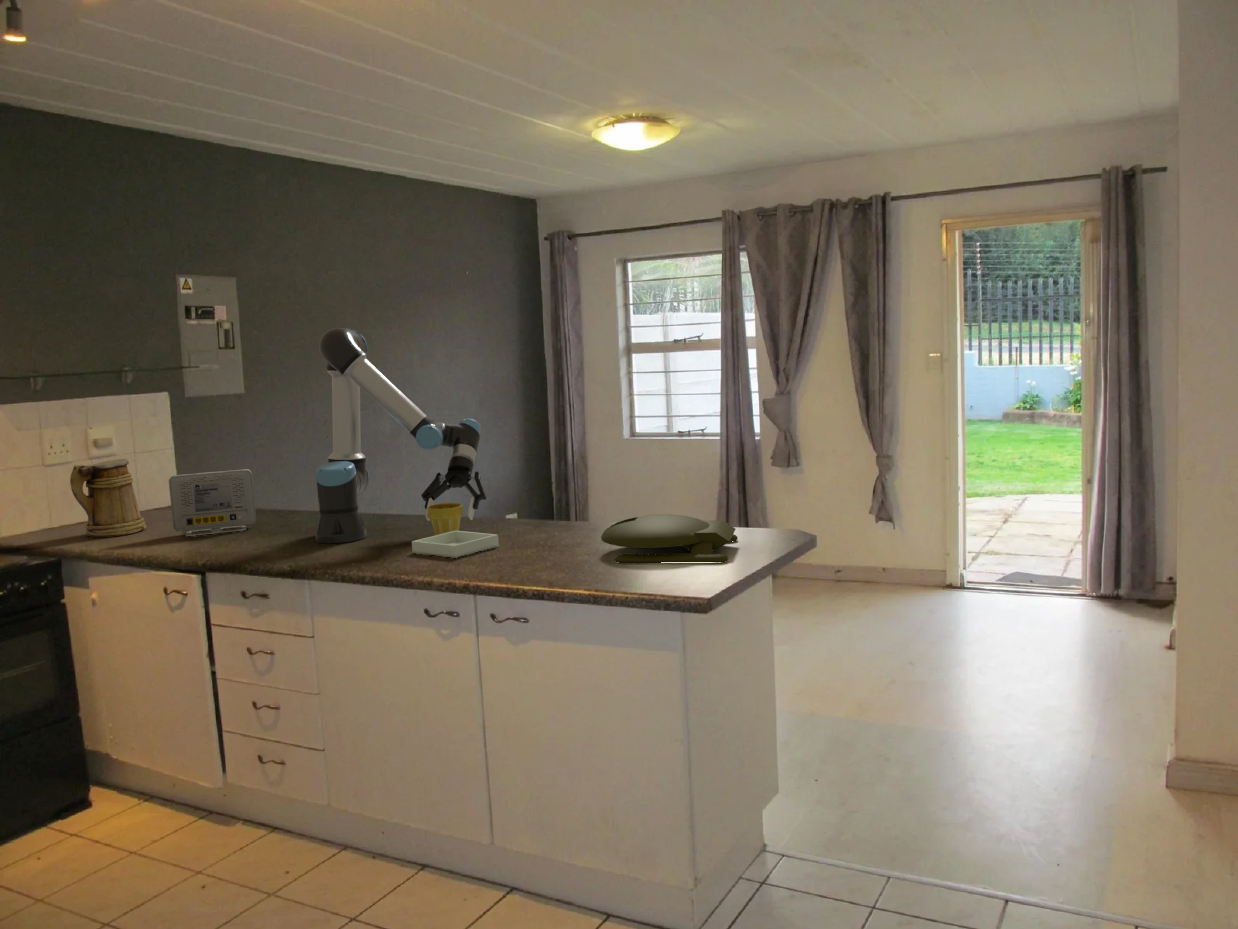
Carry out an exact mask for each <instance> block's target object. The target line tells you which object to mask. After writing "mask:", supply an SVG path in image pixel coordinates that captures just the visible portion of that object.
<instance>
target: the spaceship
mask: <svg viewBox="0 0 1238 929" xmlns="http://www.w3.org/2000/svg"><path fill="white" fill-rule="evenodd" d="M736 529H737V528H735V527H733V526H732V525H731V524H730V523H727V522H726V521H724V520H722V519H721V520H718V519H717V520H702V519H700V518H697V517H693V516H688V515H682V514H674V513H673V514H672V513H671V514H670V513H664V514H663V513H661V514H660V513H659V514H658V513H657V514H647V515H639V516H635V517H630V518H626V519H623V520H621V521H617V522H616V523H614V524H612V525H610V526H609V527H607V528H606V529H604V531H603V532H602V533H601V536H600V539H601V541H602V542H603V543H605V544H608V545H611V546H617V547H624V548H625V547H626V548H641V549H643V548H644V549H645V548H647V549H650V548H654V549H655V548H669V547H670V548H671V547H682V548H685V549H686V550H688V551H689V553H687V552H685V553H682V552H681V553H678V552H676V553H674V552H673V553H669V552H667V553H660V552H659V553H658V552H657V553H621V554H620V553H619V554H618V555H616V556H614V562H615V561H616V562H619V563H661V562H725V561H727V562H728V560H729V556H728V555H727V554H725V553H720V552H716V551H719V550H720V549H722V547H724V546H725V545H727V544H728V542H731V543H733V542H732V541H735V542H737V541H738V539H739V538H738V536H737V535H736V534H735V531H736ZM616 562H615V563H616ZM619 563H618V564H619ZM725 563H726V562H725Z"/></svg>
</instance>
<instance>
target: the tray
mask: <svg viewBox="0 0 1238 929" xmlns="http://www.w3.org/2000/svg"><path fill="white" fill-rule="evenodd" d="M499 547H500V546H499V534H495V533H486V532H484V533H483V532H474V531H466V530H465V531H464V530H459V531H452V532H447V533H443V534H439V535H432V536H428V537H424V538H420V539H416V540H411V548H412V549H411V550H412V554H413V553H416V554H415V555H420V554H422V555H421V556H429V555H437V556H444V557H443V558H445V557H451V558H450V559H453V558H456V559H459V558H458V557H460V556H464V555H467V556H470V555H469V554H471V555H473V554H472V553H474V554H476V553H475V552H478V551H482V552H485V551H488V550H487V549H489V550H492V549H496V548H499ZM491 548H492V549H491ZM484 550H485V551H484ZM478 553H479V552H478ZM437 556H436V557H437ZM464 557H465V556H464ZM460 558H461V557H460Z"/></svg>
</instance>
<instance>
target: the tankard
mask: <svg viewBox="0 0 1238 929" xmlns="http://www.w3.org/2000/svg"><path fill="white" fill-rule="evenodd" d="M128 465H129V460H128V459H127V458H120V459H111V460H106V461H103V462H97V463H93V464H90V465H89V464H88V465H84V464H81V465H76V464H75V465H74V466H73V468H72V471H71V474H70V482H69V484H70V490H71V492H72V494H73V497H74V498H75V500H76V502H77V503H78V504H79V505H80V506H81V508H82V509H83V510H84V512H85V514H86V515H87V524H86V525H85V530H86V531H85V535H86V536H88V537H89V536H91V537H90V538H95V537H105V538H114V537H119V536H120V537H121V535H122V536H126V534H127V535H130V534H134V533H138V532H140V531H143V530H145V529H146V528H147V525H146V522H145V520H144V517H143V516H142V515H141V512H140V508H139V505H138V501H137V500H138V499H137V498H136V494H135V489H134V486H133V482H134V479H133V476H132V473H131V472H129V469H128ZM84 483H85V487H86V488H87V495H86V494H85V492H84V489H83V488H84Z"/></svg>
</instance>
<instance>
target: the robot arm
mask: <svg viewBox="0 0 1238 929" xmlns="http://www.w3.org/2000/svg"><path fill="white" fill-rule="evenodd" d="M318 350H319V353H320V355H321V357H322V358H323V360H324V361H325V362H326V372H327V373H328V374H329V375H330V376H331V399H332V400H331V404H332V405H331V408H332V410H331V411H332V452H331V453H330V454H329V455H328V456H327V458H328V460H327V462H326V463H323V464H320V465H319V466H317V468H316V471H315V472H316V475H315V481H316V489H317V498H318V499H317V500H318V508H319V509H318V510H319V518H318V523H317V528H316V532H315V542H316V543H321V544H340V543H347V542H348V543H349V542H355V541H359V540H363V539H365V538H366V537H367V536H368V535H367V529H366V527H365V524H364V520H363V519H362V517H361V514H360V511H359V500H358V497H359V496H360V495H362V494H363V493H364V492H365V491H366V489H367V487H368V486H369V481H370V475H369V471H368V469H367V462H366V461H367V458H366V455H365V454H364V453H362V447H361V446H362V444H361V436H362V435H361V389H362V391H364V392H365V393H366V394H367V395H368V397H370V398H371V399H372V401H373V400H374V402H376V404H377V405H379V406H380V407H381V408H382V409H383V410H384V411H385V412H386V413H387V414H388V415H390V416H391V417H392V419H394V420H395V421H396V422H397V423H398V425H400V426H401V427H402V428H403V429H405V431H407V432H408V433H409V435H411V436H412V438H414V439H415V440H416V443H417V445H418V446H419V447H420V448H422V449H423V450H428V451H430V450H435V449H437V448H439V447H447V448H452V451H451V454H450V457H449V458H450V459H449V462H448V468H447V472H446V473H445V474H441V472H437V473H436V475H435V478H434V479H433V480H432V482H431V483H430V484H429V485H428V486H427V488H425V490H424V491H423V492H422V493H421V498H422V500H423V501H424V502H425V504H424V509H425V513H424V514H425V515H424V517H425V518H426V521H428V522H429V521H431V519H430V518H429V517H428V507H429V506H431V505H435V500H437V498H439V497H440V496H441V495H443V494H444V493H445V492H446V491H448V490H450V489H451V488H452V489H456V488H459V489H462V488H463V487H464V488H466V490H467V491H468V492H469V493H470V494H471V497H470V498H471V499H470V503H469V507H468V511H467V516H468V519H469V520H470V521H473V519H474V515H475V510H478V509H479V506H480V502H481V501H482V500H483V501H485V500H487V496H486V493H485V490H484V488H483V485H482V483H481V474H480V473H479V471H475V472H474V473H473V469H474V463H475V461H476V456H477V452H478V448H479V443H480V439H481V432H482V426H481V423H479V422H478V421H477V420H475V419H472V418H463V419H461V420H460V421H459V423H458V424H457V423H455V424H454V423H449V422H444V421H438V420H433V419H431V418H429V417H428V416H427V414H426V413H424V411H422V410H421V409H420V408H419V406H417V405H416V404H415V403H414V402H413V401H412V400H411V399H409V398H408V396H406V395H405V394H404V393H403V392H402V391H401V390H400V389H399V388H398V387H397V386H396V385H394V384H393V382H391V381H390V380H389V379H388V378H387V377H386V376H385V375H384V374H383V373H382V372H381V371H380V369H377V368H376V366H375V365H373V364H372V363H371V362H370V361H369V360H368V359H367V354H368V344H367V341H366V339H365V337H364V336H363V335H362V334H361V333H360V332H358V331H357V330H355V329H352V328H347V327H346V328H342V327H335V328H331V329H329V330H327V331H325V333H323V335H322V336H321V338H320V339H319V345H318ZM471 480H473V481H474V482H475V483H476V486H477V489H478V491H479V492H478V493H477V491H476V490H475V488H474V487H473V486H472V484H470V483H469V482H470V481H471Z"/></svg>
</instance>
